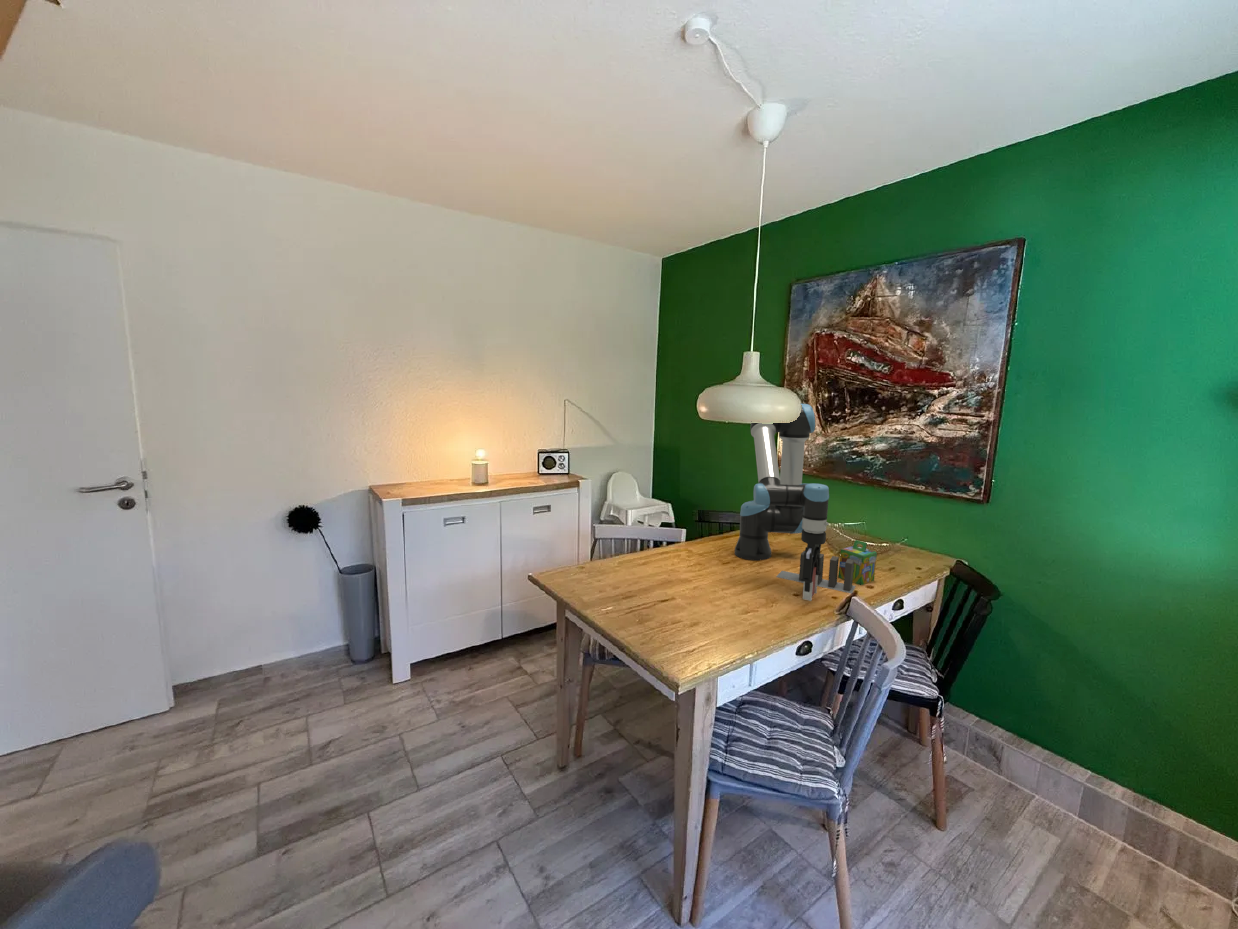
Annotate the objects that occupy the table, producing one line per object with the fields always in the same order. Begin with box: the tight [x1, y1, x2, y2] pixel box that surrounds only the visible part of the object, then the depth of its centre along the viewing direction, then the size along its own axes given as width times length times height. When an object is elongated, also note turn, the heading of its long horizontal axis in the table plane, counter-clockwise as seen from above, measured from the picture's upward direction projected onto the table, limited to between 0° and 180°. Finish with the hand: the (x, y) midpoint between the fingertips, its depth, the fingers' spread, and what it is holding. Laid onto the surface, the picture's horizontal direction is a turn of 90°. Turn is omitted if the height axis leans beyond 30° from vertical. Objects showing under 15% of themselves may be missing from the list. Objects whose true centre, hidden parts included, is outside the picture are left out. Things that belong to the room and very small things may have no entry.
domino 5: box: [843, 559, 854, 591], centre depth 166 cm, size 2×5×10 cm, turn 145°
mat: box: [775, 570, 856, 594], centre depth 173 cm, size 26×8×1 cm, turn 55°
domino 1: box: [798, 550, 805, 581], centre depth 174 cm, size 2×5×10 cm, turn 145°
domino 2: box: [812, 567, 816, 598], centre depth 160 cm, size 2×5×10 cm, turn 145°
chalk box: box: [837, 539, 878, 586], centre depth 174 cm, size 9×9×15 cm
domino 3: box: [817, 553, 825, 585], centre depth 172 cm, size 2×5×10 cm, turn 145°
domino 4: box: [828, 555, 840, 588], centre depth 169 cm, size 2×5×10 cm, turn 145°
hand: (809, 596), depth 160 cm, fingers open, 6 cm apart
